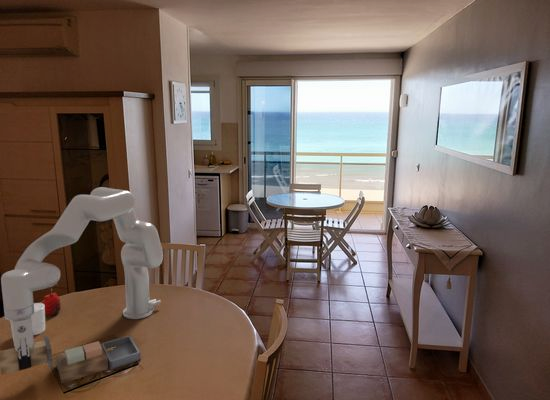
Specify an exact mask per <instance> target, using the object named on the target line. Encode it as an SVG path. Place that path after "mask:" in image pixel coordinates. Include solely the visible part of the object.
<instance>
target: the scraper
mask: <svg viewBox="0 0 550 400" xmlns="http://www.w3.org/2000/svg"><path fill="white" fill-rule="evenodd" d="M19 348H21V347H19ZM26 351H27V350H26ZM20 353H22V351H20ZM29 355H30V356H31V368H34V367H36V366H40V365H44V364H47V366H48V368H50V367H54V364H53V351H52V345H51V341H50V338H49V335H44V336H43V340H40V341H35V342H34V347H33V348H29ZM18 358H19V353H18V352H17V351H16V350H15V347H12V348H8V349H3V350H0V374H1V376H3V375H4V376H5V375H7V374H11V373H16V372H18V371H20V370H19V363H18Z"/></svg>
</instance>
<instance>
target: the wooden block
mask: <svg viewBox="0 0 550 400" xmlns="http://www.w3.org/2000/svg"><path fill="white" fill-rule="evenodd" d="M99 343H100V345H101V342H99ZM101 347H102V345H101ZM82 349H83V347H82ZM84 358H85V360H83V361H79V362H76V363H73V364H69V365H68V364H67V360H66V357H65V352H62V353H59V354H55V360H56V368H57V371H58V375H59V379H60V383H61V384H65V383H67V382H71V381H74V380H78V379H80V378H83V377H87V376H89V375H93V374H96V373H100V372H102V371H103V372H104V371H106V370H109V365H108V358H107V356H106V354H105V352H104V350H103V347H102V355H99V356H96V357H93V358H89V359H86V357H85V355H84Z"/></svg>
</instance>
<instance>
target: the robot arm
mask: <svg viewBox="0 0 550 400" xmlns="http://www.w3.org/2000/svg"><path fill="white" fill-rule="evenodd" d="M135 205H136V198H135V195H134V194H133V193H132V192H130V191H129V190H124V189H116V188H111V187H104V186H100V187H96V188H94V189H93V190H91V192H90V194H77V195H75V196H73V198H72V199H71V201H70V202H69V204H68V205H67V206H66V208H65V209H64V211H63V212H62V214H61V215H60V217H59V219H58V221H57V222H55V225H54V226H53V227H52V229H51V230H49V231H47V232H46V233H44V234H43V235H41V236H40V237H39V238H37V239H35V240H34V241H33V242H31V244H30V245H29V246H27V248H25V250H24V251H23V253H22V255H21V256H20V257H19V259H18V260H17V262H16V264H15V267H14V269H11V270H9V271H6V272H4V273H3V274H2V275H1V277H0V284H1V293H2V301H3V302H2V303H3V313H4V319H5V320H6V321H9V322H10V330H11V335H12V342H13V345H14V348H15V350H16V351H17V352H18V353H19V358H18V363H19V371H24V370H27V369H31V368H32V367H31V356H30V355H29V348H33V347H34V343H35V342H34V341H35V340H34V335H33V328H32V320H31V316H32V315H33V314H34V303H35V302H34V295H33V294H34V292H35V291H40V290H44V289H48V288H52V286H53V287H54V286H56V285H55V284H58V282H59V281H60V278H61V270H60V269H59V267H57V266H56V265H54V264H52V263H47V262H44V259H45V258H46V257H47V256H48V255H49V254H50V253H52V252H53V251H55V250H58V249H60V248H64V247H67V246H70V245H73V244H75V243H76V242H78V241H79V239H80V238H81V236H82V234H83V232H84V231H85V229H86V227H87V226H88V225H89V222H90V221H96V222H105V221H109V220H113V223H114V225H115V229H116V233H117V236H118V238H119V239H120V241H121V242H123V243H124V245H123V246H122V248H121V251H120V257H121V263H122V265H123V271H124V288H125V305H126V307H125V308H124V309H123V310H122V316H123V317H124V318H126V319H129V320H139V319H144V318H148V317H150V316H151V315H152V314H154V311H155V310H154V309H155V308H154V307H155V306H160V305H162V302H161V299H158V300H157V299H156V298H154V299H150V282H149V281H150V280H149V279H150V278H149V275H150V274H149V270H148V269H156V268H158V267H159V266H160V265H161V264H162V263H163V260H164V259H163V258H164V254H163V253H164V252H163V251H164V250H163V247H162V243H161V240H160V236H159V232H158V229H157V228H156V226H155V225H154V224H152V223H150V222H147V221H142V220H139V218H138V217H137V215H136V211H135V209H134V207H135ZM19 347H21V348H19ZM26 350H27V351H26ZM20 351H22V353H20Z"/></svg>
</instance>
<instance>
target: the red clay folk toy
mask: <svg viewBox="0 0 550 400" xmlns="http://www.w3.org/2000/svg"><path fill="white" fill-rule="evenodd" d="M54 286H58V283H56V284H55V285H53V286H51V289H50V294H47V295H44V296H43V299H42V302H41V303H42V304H44V305H45V317H54V316H57V315H58V314H59V312H60V311H61V308H62V305H61V300H60V297H59V296H58V294H57V293H56V292H53V288H54Z"/></svg>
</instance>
